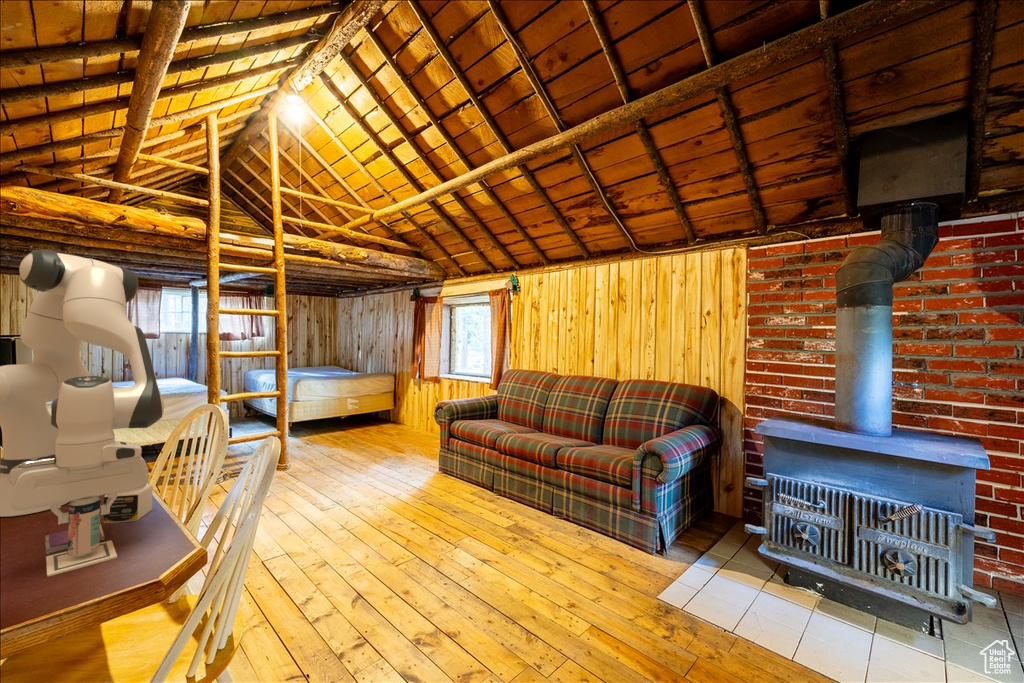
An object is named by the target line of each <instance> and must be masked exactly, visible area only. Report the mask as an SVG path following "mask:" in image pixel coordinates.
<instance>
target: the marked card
mask: <svg viewBox="0 0 1024 683" xmlns="http://www.w3.org/2000/svg"><path fill="white" fill-rule="evenodd" d="M99 546H100V547H99V548H98V549H97V550H95V551H94V552H93V553H90V554H88V555H84V556H80V557H73V556H69V555H68V550H67V551H63V552H59V553H54V554H51V555H47V556H45V560H46V577H49V578H50V577H51V576H55V575H60V574H62V573H67V572H70V571H74V570H77V569H81V568H85V567H88V566H92V565H95V564H99V563H100V564H101V563H103V562H107V561H111V560H115V559H117V558H118V554H117V551H116V548H115V545H114V543H113V540H107V541H104V542H99Z"/></svg>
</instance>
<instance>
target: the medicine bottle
mask: <svg viewBox="0 0 1024 683" xmlns="http://www.w3.org/2000/svg"><path fill="white" fill-rule="evenodd" d="M153 487H154V486H153V484H146V485H145V486H144V487H142V488H137V489H132V490H126V491H121V492H117V498H116V499H115V501H114V502H113V503H112V505H111V506H110V514H106V515H103V524H115V523H126V522H127V523H128V522H137V521H139V520H140V519H141V518H143V517H144V516H146V515H147V514H148V513H150V512H151V511H152V510H153ZM108 499H109V498H108V496H107V494H105V495H104V496H103V505H105V504H106V502H107V501H108Z"/></svg>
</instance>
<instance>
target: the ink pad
mask: <svg viewBox="0 0 1024 683" xmlns="http://www.w3.org/2000/svg"><path fill="white" fill-rule="evenodd" d="M101 541H105V533H104V531H103V526H102V524H101V523H100V538H99V542H101ZM64 550H68V529H67V530H63V531H59V532H58V531H57V532H55V533H54V532H53V533H49V534H48V535H45V555H48V554H52V553H56V552H61V551H64Z"/></svg>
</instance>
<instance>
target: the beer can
mask: <svg viewBox="0 0 1024 683" xmlns="http://www.w3.org/2000/svg"><path fill="white" fill-rule="evenodd" d="M100 506H101V495H100V496H94V497H90V498H84V499H79V500H74V501H70V502H68V513H69V518H68V519H69V522H68V523H67V526H68V527H67V528H68V529H67V530H68V549H67V551H68V555H69V556H73V557H80V556H84V555H88V554H90V553H93V552H94V551H95V550H97V549H98V548H99V547H100V546H99V543H100V541H99V538H100V524H101V516H100Z"/></svg>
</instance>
